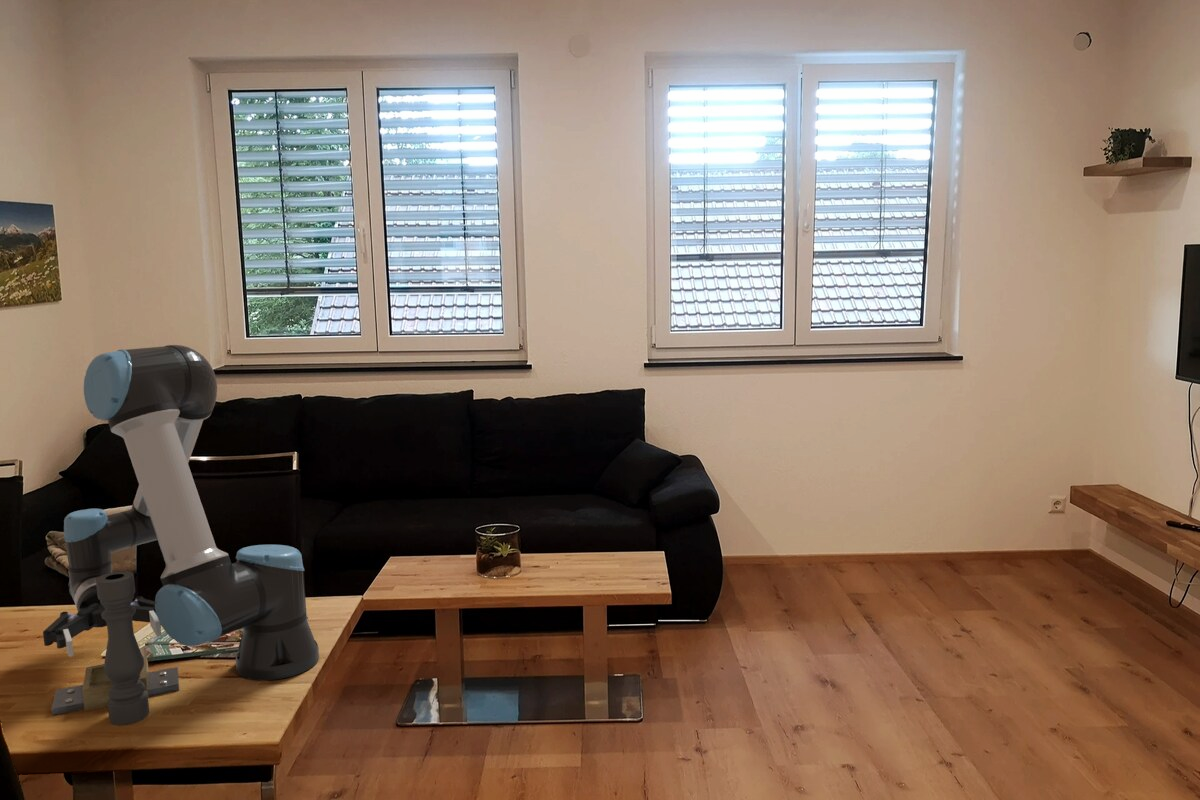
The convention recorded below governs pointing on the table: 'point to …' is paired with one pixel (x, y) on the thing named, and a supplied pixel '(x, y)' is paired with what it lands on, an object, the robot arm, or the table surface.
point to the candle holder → (122, 649)
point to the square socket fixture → (99, 685)
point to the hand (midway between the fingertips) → (115, 638)
